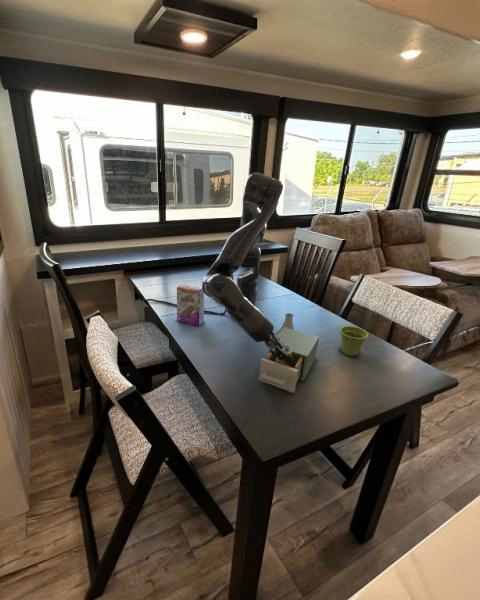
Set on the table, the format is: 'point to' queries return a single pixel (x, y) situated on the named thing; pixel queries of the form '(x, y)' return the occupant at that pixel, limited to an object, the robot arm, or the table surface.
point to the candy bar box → (190, 304)
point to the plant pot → (352, 339)
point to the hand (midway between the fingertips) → (289, 357)
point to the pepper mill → (288, 353)
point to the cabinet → (300, 346)
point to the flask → (287, 322)
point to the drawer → (281, 372)
